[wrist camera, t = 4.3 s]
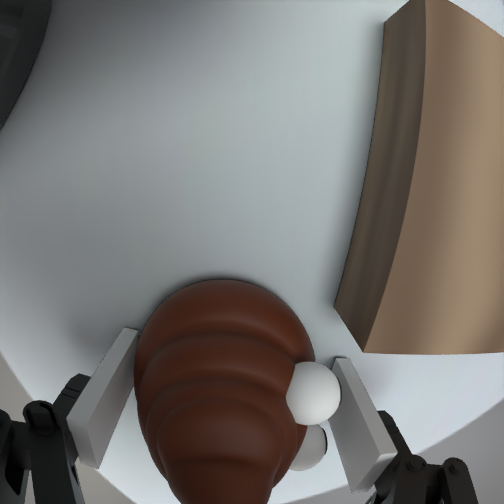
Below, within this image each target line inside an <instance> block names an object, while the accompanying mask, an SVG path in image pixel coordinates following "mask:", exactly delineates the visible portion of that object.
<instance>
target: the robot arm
mask: <svg viewBox="0 0 504 504" xmlns="http://www.w3.org/2000/svg"><path fill="white" fill-rule="evenodd" d="M50 7H51V0H0V128H1V126H2V125H3V123H4V121H5V120H6V118H7V116H8V114H9V113H10V111H11V109H12V107H13V105H14V103H15V101H16V100H17V98H18V96H19V94H20V92H21V90H22V87H23V85H24V83H25V81H26V79H27V77H28V74H29V72H30V70H31V67H32V65H33V63H34V60H35V58H36V55H37V53H38V50H39V47H40V44H41V42H42V39H43V35H44V32H45V29H46V25H47V21H48V17H49V12H50ZM137 345H138V330H133V329H129V328H123V329H122V331H121V332H120V334H119V335H118V337H117V338H116V340H115V341H114V343H113V344H112V346H111V348H110V349H109V351H108V352H107V354H106V355H105V357H104V358H103V360H102V361H101V363H100V364H99V366H98V368H97V369H96V371H95V372H94V374H93V375H92V377H90V376H86V375H83V374H80V373H79V374H77V375H76V376H74V377H72V378H71V379H70V380H69V381H68V383H67V384H66V386H65V388H64V389H63V390H62V391H61V394H59V396H58V397H57V399H56V400H55V402H54V403H53V405H52V404H51V403H49V402H47V401H42V400H37V401H32V402H30V403H28V404H27V405H26V406H25V407H24V409H23V416H24V418H25V421H26V423H24V422H18V421H12V420H11V419H10V417H9V415H8V414H7V413H6V412H5V411H3V410H1V409H0V504H24V502H25V494H26V488H27V481H28V476H29V470H31V473H32V482H33V489H34V496H35V503H36V504H85V502H84V498H83V494H82V491H81V487H80V482H79V478H78V474H77V470H76V466H75V464H74V463H75V461H76V459H77V457H79V459H80V462H81V463H82V464H85V465H87V466H90V467H93V468H96V469H99V467H100V465H101V462H102V460H103V457H104V454H105V452H106V449H107V447H108V444H109V442H110V440H111V437H112V435H113V432H114V430H115V427H116V425H117V423H118V420H119V418H120V416H121V413H122V411H123V408H124V406H125V404H126V401H127V399H128V397H129V395H130V392H131V390H132V388H133V385H134V377H133V371H134V359H135V353H136V349H137ZM332 372H333V373H334V375H335V376H337V377H338V379H339V381H340V383H341V387H342V401H341V404H340V405H339V406H338V408H337V410H336V411H335V413H334V414H333V415H332V416H331V417H330V418H329V419H328V421H329V424H330V427H331V430H332V433H333V436H334V439H335V442H336V445H337V448H338V452H339V455H340V458H341V461H342V464H343V467H344V470H345V474H346V477H347V480H348V483H349V486H350V490H351V493H360V492H366V491H369V489H370V488H371V487H372V486H373V484H375V487H376V491H375V492H374V494H373V495H372V496H371V497H370V498H369V499H368V501H367V502H366V503H365V504H369V503H370V501H371V503H370V504H443V502H444V504H478V501H477V497H476V494H475V490H474V487H473V484H472V480H471V477H470V474H469V471H468V468H467V466H466V464H465V463H464V462H463V461H462V460H460V459H458V458H448V459H447V460H445V461H444V463H443V464H442V465H434V464H427V463H426V461H425V460H424V459H423V458H422V457H420V456H418V455H414V454H412V453H411V451H410V449H409V448H408V446H407V444H406V442H405V440H404V438H403V436H402V435H401V433H400V431H399V429H398V427H396V424H395V422H394V420H393V418H392V417H391V416H390V415H389V414H388V413H387V412H386V411H385V410H384V411H377V410H376V408H375V406H374V404H373V402H372V400H371V399H370V397H369V395H368V393H367V391H366V389H365V387H364V385H363V383H362V381H361V379H360V378H359V376H358V374H357V372H356V370H355V368H354V366H353V364H352V363H351V361H350V359H344V358H336V360H335V363H334V365H333V368H332Z"/></svg>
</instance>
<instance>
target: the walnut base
mask: <svg viewBox="0 0 504 504" xmlns="http://www.w3.org/2000/svg"><path fill="white" fill-rule="evenodd" d="M334 308H335V309H336V311H337V312H338V314H339V315H340V317H341V318H342V320H343V322H344V323H345V325H346V326H347V328H348V329H349V331H350V333H351V334H352V336H353V337H354V339H355V341H356V342H357V344H358V345H359V347H360V349H361V350H362V352H363V353H380V354H420V355H442V354H480V353H499V352H504V37H502V36H501V35H500V34H498V33H497V32H496V31H494V30H493V29H492V28H490V27H489V26H487V25H486V24H485V23H483V22H482V21H480V20H479V19H477V18H476V17H474V16H473V15H471V14H470V13H468V12H467V11H465V10H463V9H462V8H460V7H459V6H457V5H455V4H454V3H452V2H450V1H448V0H409V1H408V2H407V3H406V4H405V5H403V6H402V7H401V8H400V9H399V10H398V11H397V12H396V13H394V14H393V15H392V16H391V17H390V18H389V19H388V20H387V21H386V22H384V38H383V51H382V63H381V73H380V82H379V91H378V99H377V107H376V114H375V121H374V128H373V134H372V141H371V147H370V153H369V158H368V164H367V169H366V175H365V180H364V185H363V190H362V195H361V200H360V205H359V209H358V214H357V219H356V223H355V227H354V232H353V236H352V240H351V244H350V249H349V253H348V257H347V261H346V264H345V268H344V272H343V276H342V280H341V283H340V287H339V291H338V294H337V298H336V301H335V305H334Z"/></svg>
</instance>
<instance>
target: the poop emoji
mask: <svg viewBox="0 0 504 504" xmlns="http://www.w3.org/2000/svg"><path fill="white" fill-rule="evenodd" d="M133 377H134V389H135V396H136V400H137V410H138V418H139V423H140V427H141V431H142V434H143V436H144V439H145V441H146V444H147V446H148V449H149V452H150V454H151V457H152V459H153V461H154V463H155V465H156V467H157V468H158V470H159V471H160V473H161V474H162V475H163V477H164V478H165V479H166V480H167V481H168V484H169V486H170V489H171V490H172V492H173V494H174V495H175V497H176V498H177V499H178V500H179V501H180V503H181V504H267V502H268V500H269V498H270V494H271V491H272V488H273V487H275V486H276V485H277V484H278V483H279V482H280V480H281V479H282V478H283V477H284V475H285V474H286V472H287V471H288V469H290V470H294V471H303V470H307V469H310V468H312V467H314V466H315V465H316V464H318V463H319V462H320V460H321V459H322V458H323V456H324V455H325V454H326V452H327V436H326V433H325V431H324V429H323V428H321V427H320V426H319V425H318V424H319V423H322V422H324V421H326V420H327V419H329V418H330V417H331V416H332V415H333V414H334V413H335V411H336V410H337V408H338V406H339V405H340V404H341V401H342V387H341V383H340V381H339V379H338V377H337V376H335V375H334V373H333V372H332V371H331V370H330V369H328V368H327V367H325V366H324V365H322V364H319V363H316V362H315V355H314V351H313V347H312V344H311V341H310V339H309V336H308V334H307V332H306V330H305V328H304V326H303V324H302V323H301V321H300V320H299V318H298V317H297V315H296V314H295V313H294V312H293V310H292V309H291V308H290V307H289V306H288V305H287V304H286V303H285V302H283V301H282V300H281V299H280V298H278V297H277V296H276V295H274V294H273V293H271V292H269V291H267V290H265V289H263V288H261V287H259V286H256V285H253V284H250V283H246V282H242V281H235V280H210V281H204V282H199V283H196V284H192V285H190V286H187V287H185V288H183V289H181V290H179V291H177V292H175V293H174V294H172V295H171V296H170V297H168V298H167V299H166V300H165V301H164V302H163V303H161V304H160V306H159V307H158V308H157V309H156V310H155V311H154V313H153V314H152V315H151V317H150V318H149V320H148V321H147V323H146V325H145V327H144V329H143V331H142V333H141V336H140V339H139V342H138V345H137V349H136V353H135V359H134V371H133Z"/></svg>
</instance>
